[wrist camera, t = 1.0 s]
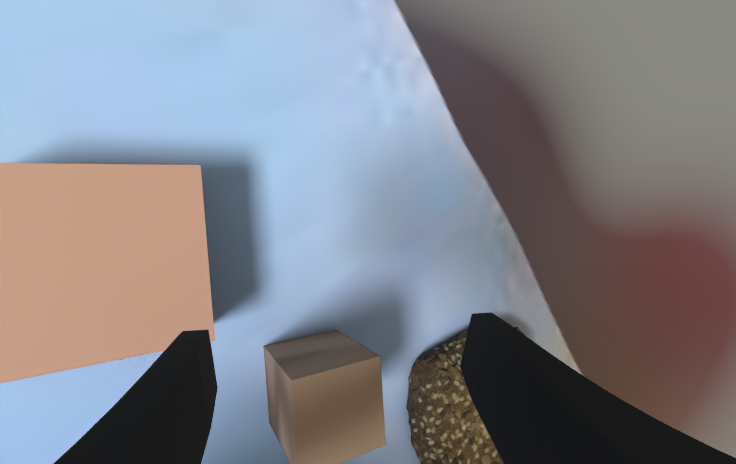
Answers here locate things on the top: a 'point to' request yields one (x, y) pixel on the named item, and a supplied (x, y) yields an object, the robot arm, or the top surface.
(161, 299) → the terracotta tile
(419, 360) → the bread roll
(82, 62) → the top surface
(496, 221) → the top surface
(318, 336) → the walnut block
